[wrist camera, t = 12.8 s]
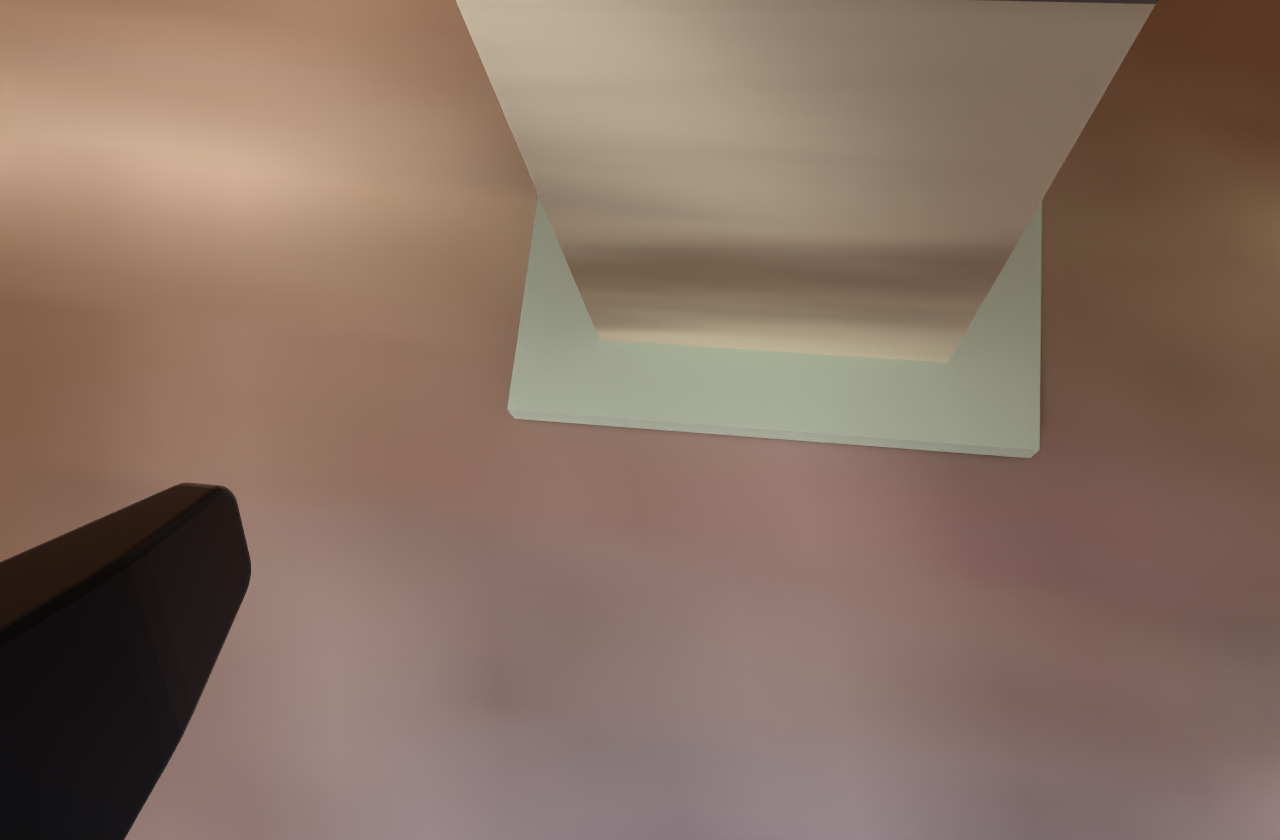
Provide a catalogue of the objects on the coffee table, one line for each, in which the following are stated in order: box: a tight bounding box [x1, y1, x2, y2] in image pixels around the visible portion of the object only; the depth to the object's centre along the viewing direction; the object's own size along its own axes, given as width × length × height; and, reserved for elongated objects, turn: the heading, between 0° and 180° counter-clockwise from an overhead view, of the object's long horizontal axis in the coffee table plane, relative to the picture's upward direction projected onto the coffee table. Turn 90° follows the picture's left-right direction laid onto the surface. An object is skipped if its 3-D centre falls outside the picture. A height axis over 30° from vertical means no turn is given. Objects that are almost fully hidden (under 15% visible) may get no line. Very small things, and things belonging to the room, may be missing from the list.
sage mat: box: [507, 196, 1042, 458], centre depth 19 cm, size 9×9×1 cm
